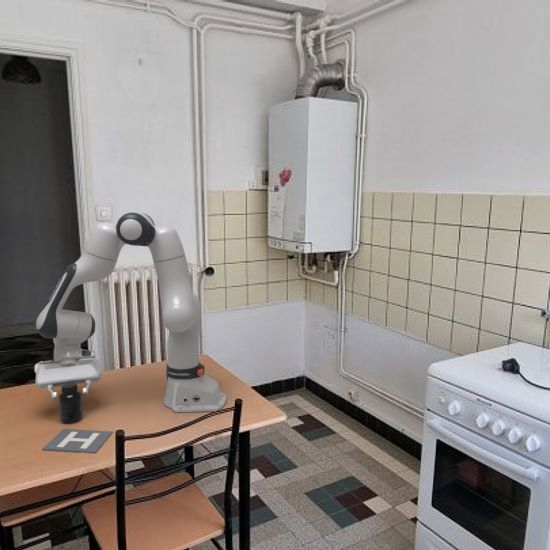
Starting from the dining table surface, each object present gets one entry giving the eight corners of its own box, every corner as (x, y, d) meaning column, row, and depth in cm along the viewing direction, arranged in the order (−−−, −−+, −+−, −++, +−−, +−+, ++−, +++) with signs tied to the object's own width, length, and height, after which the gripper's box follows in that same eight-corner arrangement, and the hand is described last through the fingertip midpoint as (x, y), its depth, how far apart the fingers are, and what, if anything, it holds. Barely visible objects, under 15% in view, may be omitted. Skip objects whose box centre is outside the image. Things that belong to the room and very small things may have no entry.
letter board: (112, 432, 148) (112, 431, 148) (95, 453, 136) (95, 452, 136) (63, 429, 149) (63, 428, 149) (42, 450, 137) (42, 448, 137)
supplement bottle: (71, 413, 160) (69, 379, 158) (87, 417, 157) (85, 383, 155) (55, 421, 154) (53, 387, 152) (71, 426, 151) (69, 390, 149)
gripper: (33, 358, 156) (33, 397, 148) (99, 350, 164) (102, 388, 157) (35, 366, 160) (35, 404, 153) (98, 359, 169) (102, 395, 162)
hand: (70, 396), depth 155 cm, fingers open, 8 cm apart
